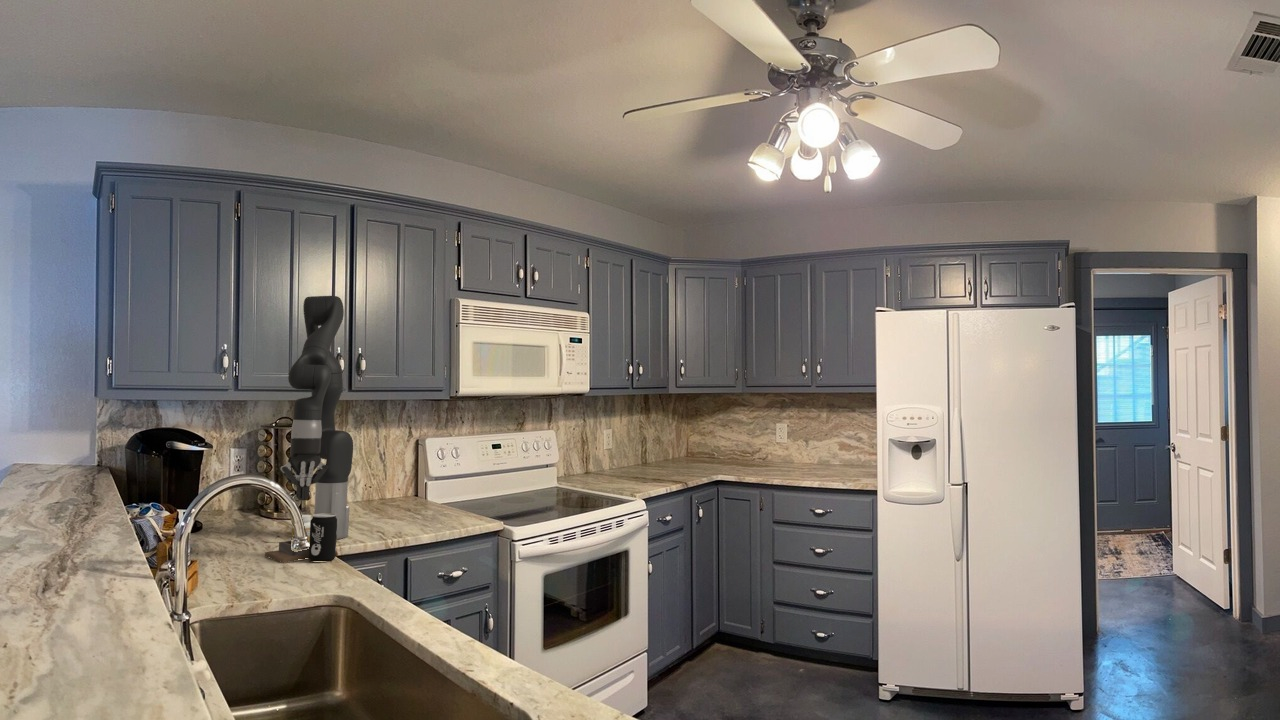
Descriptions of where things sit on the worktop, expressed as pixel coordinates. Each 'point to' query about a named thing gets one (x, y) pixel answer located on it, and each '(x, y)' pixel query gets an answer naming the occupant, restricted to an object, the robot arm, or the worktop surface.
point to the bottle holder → (287, 553)
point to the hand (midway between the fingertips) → (302, 499)
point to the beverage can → (323, 537)
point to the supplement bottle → (306, 523)
